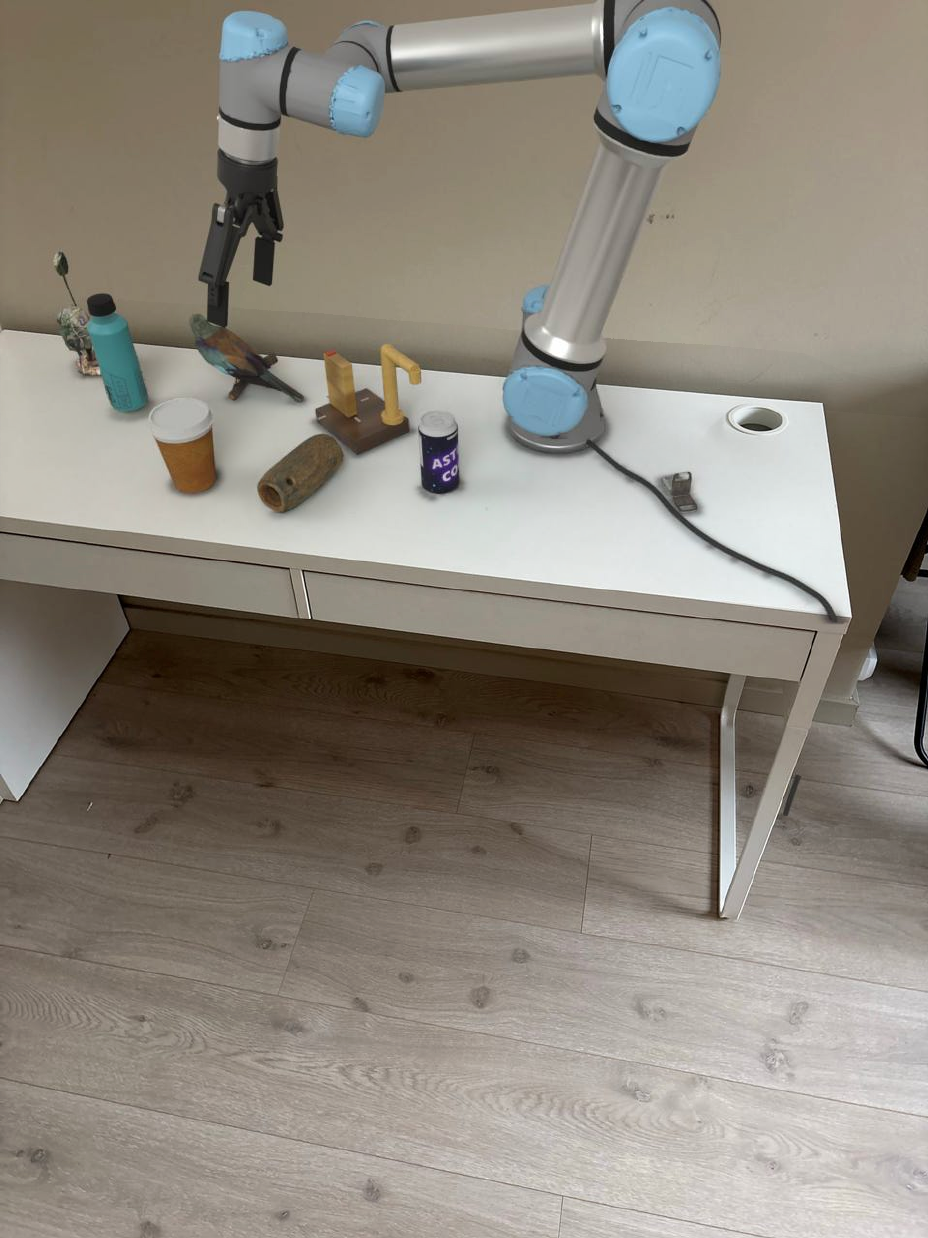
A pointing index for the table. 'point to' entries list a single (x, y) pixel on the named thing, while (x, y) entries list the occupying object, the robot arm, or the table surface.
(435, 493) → the beverage can
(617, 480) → the table surface
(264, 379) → the bird figurine
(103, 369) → the beverage bottle
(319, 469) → the brown cylindrical piece
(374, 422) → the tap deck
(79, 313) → the plant with pod
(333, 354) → the tap handle
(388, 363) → the tap spout
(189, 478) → the disposable coffee cup
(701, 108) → the robot arm
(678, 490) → the strap clip
